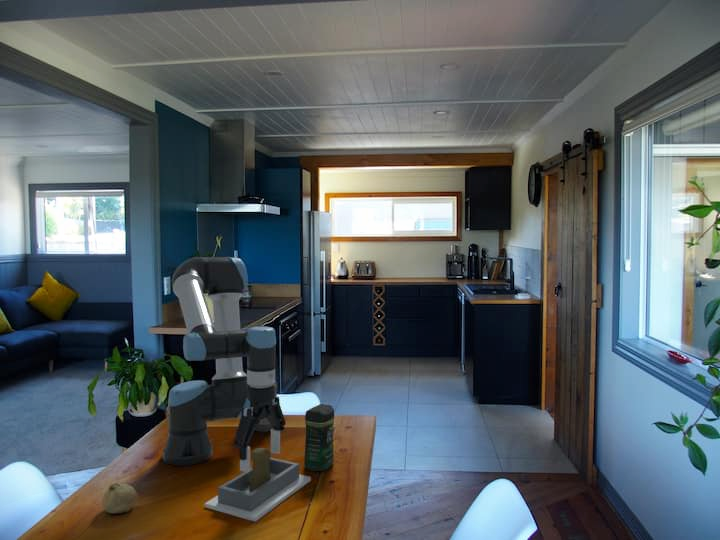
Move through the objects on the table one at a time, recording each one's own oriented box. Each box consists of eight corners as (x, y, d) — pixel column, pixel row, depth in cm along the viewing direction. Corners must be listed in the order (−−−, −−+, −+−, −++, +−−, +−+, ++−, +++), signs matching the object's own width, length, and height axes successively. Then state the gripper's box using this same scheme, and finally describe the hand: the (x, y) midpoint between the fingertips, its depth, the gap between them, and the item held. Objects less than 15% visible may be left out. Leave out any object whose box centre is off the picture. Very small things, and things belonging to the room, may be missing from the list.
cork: (276, 487, 146) (276, 447, 145) (263, 496, 140) (263, 455, 140) (258, 482, 148) (258, 444, 148) (244, 491, 143) (245, 451, 142)
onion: (123, 500, 139) (123, 473, 139) (143, 507, 135) (143, 480, 135) (95, 512, 132) (95, 485, 132) (115, 521, 128) (115, 492, 128)
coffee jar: (323, 474, 157) (324, 412, 156) (300, 469, 160) (300, 409, 159) (337, 462, 165) (338, 403, 165) (315, 458, 169) (315, 400, 168)
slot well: (255, 521, 129) (255, 501, 129) (204, 507, 136) (204, 487, 136) (310, 480, 152) (310, 463, 152) (265, 469, 159) (265, 453, 159)
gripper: (243, 397, 130) (242, 482, 131) (298, 376, 152) (297, 448, 153) (219, 393, 133) (218, 476, 134) (276, 373, 156) (276, 444, 157)
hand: (260, 461), depth 144 cm, fingers open, 13 cm apart
